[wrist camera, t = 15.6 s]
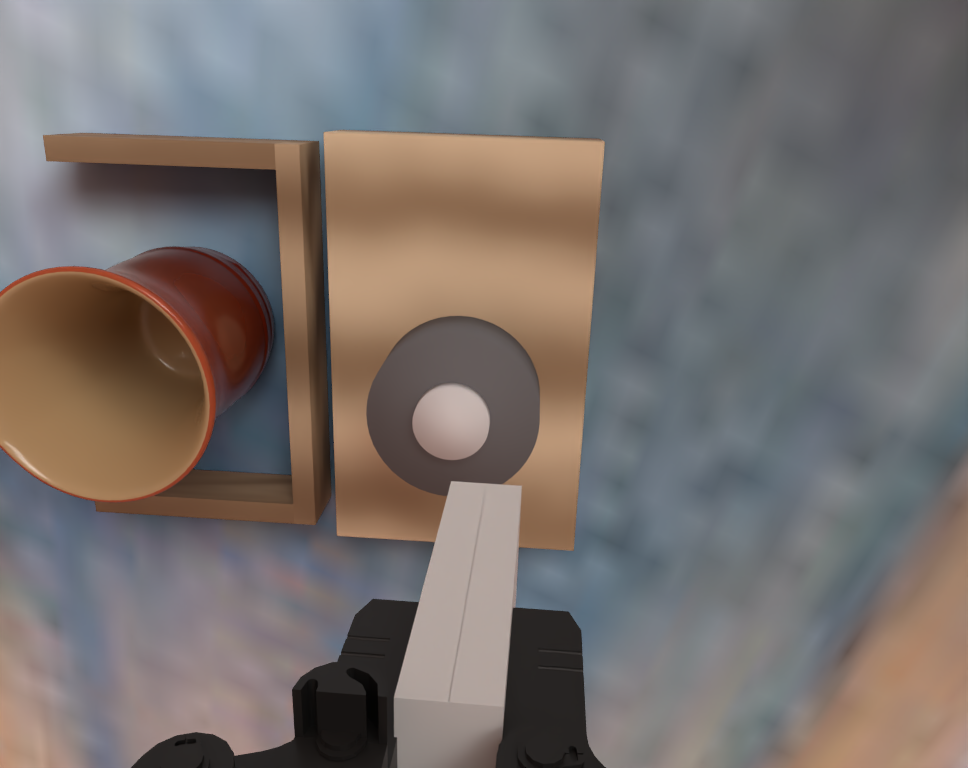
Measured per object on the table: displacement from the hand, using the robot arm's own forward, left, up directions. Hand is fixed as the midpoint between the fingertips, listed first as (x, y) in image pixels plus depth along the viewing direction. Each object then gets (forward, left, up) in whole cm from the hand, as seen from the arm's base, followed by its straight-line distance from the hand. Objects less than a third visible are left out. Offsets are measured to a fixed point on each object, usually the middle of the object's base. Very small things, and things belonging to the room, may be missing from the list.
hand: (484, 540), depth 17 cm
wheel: (+1, -2, -13) cm, 13 cm away
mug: (+1, -16, -21) cm, 26 cm away
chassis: (+1, -8, -21) cm, 22 cm away
